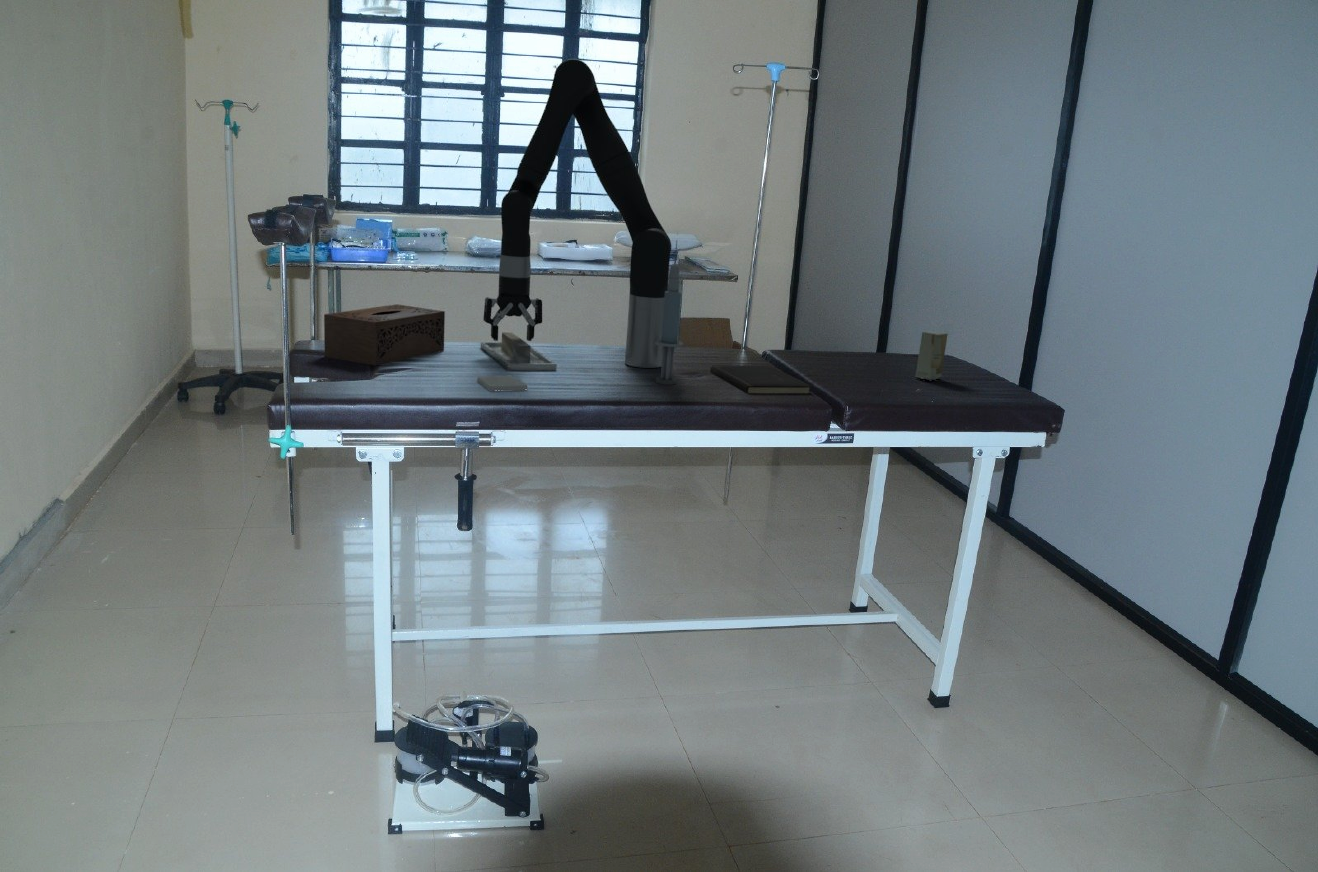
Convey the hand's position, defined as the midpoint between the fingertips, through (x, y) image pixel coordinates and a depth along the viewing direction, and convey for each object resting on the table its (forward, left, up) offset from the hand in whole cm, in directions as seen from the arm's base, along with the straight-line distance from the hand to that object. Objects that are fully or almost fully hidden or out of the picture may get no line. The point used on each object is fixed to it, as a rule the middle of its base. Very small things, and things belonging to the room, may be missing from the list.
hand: (512, 340), depth 252 cm
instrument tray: (0, +5, -4) cm, 6 cm away
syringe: (-28, +33, -4) cm, 43 cm away
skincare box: (-101, +33, -4) cm, 106 cm away
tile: (+11, +29, -3) cm, 31 cm away
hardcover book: (-51, +34, -4) cm, 62 cm away
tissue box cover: (+30, -2, -4) cm, 30 cm away
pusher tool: (0, +3, -3) cm, 5 cm away
